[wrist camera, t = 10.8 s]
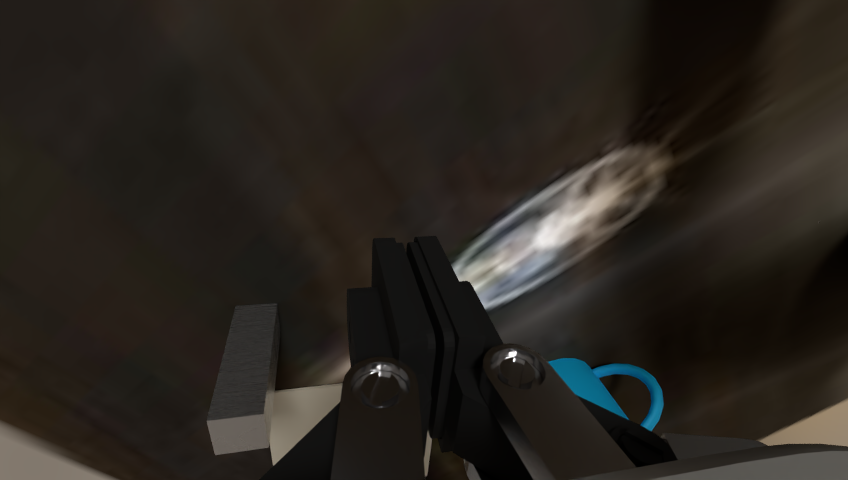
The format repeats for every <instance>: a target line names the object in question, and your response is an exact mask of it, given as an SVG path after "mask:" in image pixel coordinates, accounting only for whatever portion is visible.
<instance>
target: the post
mask: <svg viewBox="0 0 848 480" xmlns="http://www.w3.org/2000/svg"><path fill="white" fill-rule="evenodd" d="M279 342H280V324H279V315H278V306H277V303H272V304H258V305H243V306H236V307H235V311H234V315H233V319H232V323H231V327H230V331H229V335H228V339H227V343H226V347H225V351H224V355H223V359H222V363H221V367H220V371H219V374H218V378H217V382H216V386H215V390H214V394H213V398H212V402H211V406H210V410H209V414H208V418H207V425H208V428H209V432H210V436H211V440H212V444H213V448H214V452H215V455H219V454H226V453H233V452H240V451H247V450H254V449H261V448H268V447H269V440H270V430H271V421H272V411H273V401H274V391H275V381H276V371H277V362H278V352H279Z"/></svg>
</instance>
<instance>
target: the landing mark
mask: <svg viewBox="0 0 848 480" xmlns="http://www.w3.org/2000/svg"><path fill="white" fill-rule="evenodd" d="M342 384H343V383H340V384H331V385H322V386H313V387H304V388H296V389H287V390H278V391H274V401H273V411H272V421H271V430H270V440H269V441H270V448H271V454H272V461H273V466H274V465H275V464H276V463H277V462H278V461H279V460H280V459H281V458H282V457H283V456H284V455H285V454H286V453H287V452H289V451H290V450H291V449H292V448H293V447H294V446H295V445H296V444H297V443H298V442H299V441H300V440H301V439H302V438H303V437H304V436H305V435H306V434H307V433H308V432H309V431H310V430H311V429H312V428H313V427H314V426H315V425H316V424H318V423H319V422H320V421H321V420H322V419H323V418H324V417H325V416H326V415H327V414H328V413H329V412H330V411H331V410H332V409H333V408H334V407H335V406H336V405H337V404H338V403H339V402H340V400H341V391H342ZM431 444H432V439H431V438H430V436H429V433H428V432H427V440H426V448H425V456H424V469H425V476H427V473H428V466H429V458H430V451H431Z"/></svg>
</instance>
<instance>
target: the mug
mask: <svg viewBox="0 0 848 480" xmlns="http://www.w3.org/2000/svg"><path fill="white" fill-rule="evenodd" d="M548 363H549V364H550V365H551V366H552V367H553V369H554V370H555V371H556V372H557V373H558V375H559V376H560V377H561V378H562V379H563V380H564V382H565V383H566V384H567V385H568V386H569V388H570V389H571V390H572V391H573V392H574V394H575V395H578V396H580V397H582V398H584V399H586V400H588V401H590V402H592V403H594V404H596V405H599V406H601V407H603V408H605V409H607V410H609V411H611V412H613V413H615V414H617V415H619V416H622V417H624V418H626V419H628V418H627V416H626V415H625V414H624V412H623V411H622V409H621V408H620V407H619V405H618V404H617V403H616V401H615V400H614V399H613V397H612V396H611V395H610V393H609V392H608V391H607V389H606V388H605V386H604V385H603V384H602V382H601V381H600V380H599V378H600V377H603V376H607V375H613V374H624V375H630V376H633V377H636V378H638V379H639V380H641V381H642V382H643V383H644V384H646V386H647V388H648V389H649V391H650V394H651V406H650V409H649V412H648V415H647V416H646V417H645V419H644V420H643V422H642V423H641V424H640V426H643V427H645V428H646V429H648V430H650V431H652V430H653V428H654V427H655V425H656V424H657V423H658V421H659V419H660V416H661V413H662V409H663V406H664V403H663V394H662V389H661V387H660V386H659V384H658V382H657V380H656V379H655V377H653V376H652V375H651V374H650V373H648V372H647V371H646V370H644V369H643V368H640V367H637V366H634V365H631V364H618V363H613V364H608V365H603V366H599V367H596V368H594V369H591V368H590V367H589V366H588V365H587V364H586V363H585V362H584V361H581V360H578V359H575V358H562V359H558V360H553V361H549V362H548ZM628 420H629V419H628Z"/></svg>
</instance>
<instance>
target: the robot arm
mask: <svg viewBox="0 0 848 480" xmlns="http://www.w3.org/2000/svg"><path fill="white" fill-rule="evenodd" d="M347 324H348V341H349V352H350V363H351V368H350V370H349V371H348V372H347V373H346V375H345V378H344V381H343V384H342V391H341V400H340V402H339V403H338V404H337V405H336V406H335V407H334V408H333V409H332V410H331V411H330V412H329V413H328V414H327V415H326V416H325V417H324V418H323V419H322V420H321V421H320V422H319V423H318V424H316V425H315V426H314V427H313V428H312V429H311V430H310V431H309V432H308V433H307V434H306V435H305V436H304V437H303V438H302V439H301V440H300V441H299V442H298V443H297V444H296V445H295V446H294V447H293V448H292V449H291V450H290V451H289V452H287V453H286V454H285V455H284V456H283V457H282V458H281V459H280V460H279V461H278V462H277V463H276V464H275V465H274V466H273V467H272V468H271V469H270V470H269V471H268V472H267V473H266V474H265V475H264V476H263V477H262V478H261V479H259V480H425V469H424V456H425V448H426V440H427V432H428V433H429V436H430V438H431V439H434V438H438V441H439V445H440V448H441V452H449V451H453V453H455V454H457V455H458V456H460V457H462V458H463V459H464V467H465V470H466V473H467V476H468V478H469V480H848V447H847V446H836V445H826V444H784V445H773V446H767V445H765V444H763V443H761V442H758V441H754V440H749V439H741V438H727V437H713V436H700V435H686V434H672V433H663V435H662V436H661V438H660V437H659V436H657V435H656V434H655V433H653V432H651V431H650V430H648V429H646V428H645V427H643V426H640V425H638V424H636V423H634V422H632V421H630V420H628V419H626V418H624V417H622V416H619V415H617V414H615V413H613V412H611V411H609V410H607V409H605V408H603V407H601V406H599V405H596V404H594V403H592V402H590V401H588V400H586V399H584V398H582V397H580V396H578V395H575V394H574V392H573V391H572V390H571V389H570V388H569V386H568V385H567V384H566V383H565V382H564V380H563V379H562V378H561V377H560V376H559V375H558V373H557V372H556V371H555V370H554V369H553V367H552V366H551V365H550V364H549V363H548V361H547V360H546V359H545V358H543V357H542V356H541V355H540V354H539V353H537V352H536V351H534V350H532V349H530V348H528V347H525V346H522V345H518V344H503V342H502V340H501V338H500V337H499V335H498V333H497V331H496V329H495V327H494V325H493V324H492V322H491V320H490V318H489V316H488V314H487V312H486V311H485V309H484V307H483V305H482V303H481V301H480V300H479V298H478V296H477V294H476V292H475V290H474V288H473V287H472V285H471V284H470V282H468V281H462V282H459V280H458V278H457V276H456V274H455V272H454V270H453V268H452V266H451V264H450V262H449V261H448V259H447V257H446V255H445V253H444V251H443V249H442V247H441V245H440V243H439V241H438V239H437V237H436V236H425V237H415V239H414V242H408V243H407V251H405V248H404V245H403V243H396V241H395V238H374V239H373V246H372V287H368V288H353V289H347Z"/></svg>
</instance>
